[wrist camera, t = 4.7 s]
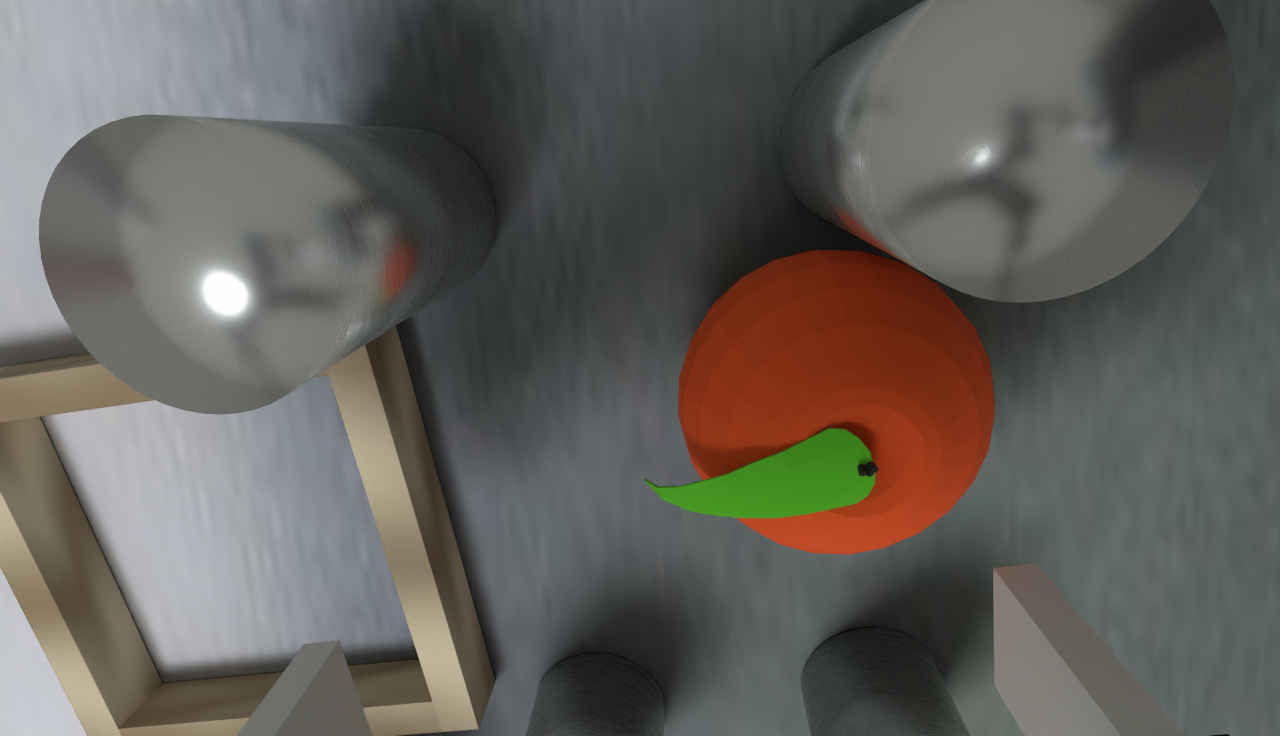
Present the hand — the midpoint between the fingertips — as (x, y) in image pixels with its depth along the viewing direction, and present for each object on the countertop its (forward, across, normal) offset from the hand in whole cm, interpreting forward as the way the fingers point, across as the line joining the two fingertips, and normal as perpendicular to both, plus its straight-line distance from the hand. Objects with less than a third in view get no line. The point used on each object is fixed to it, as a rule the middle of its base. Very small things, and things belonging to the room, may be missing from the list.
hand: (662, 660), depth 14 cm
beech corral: (+8, -14, 0) cm, 15 cm away
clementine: (+7, +4, +4) cm, 9 cm away
